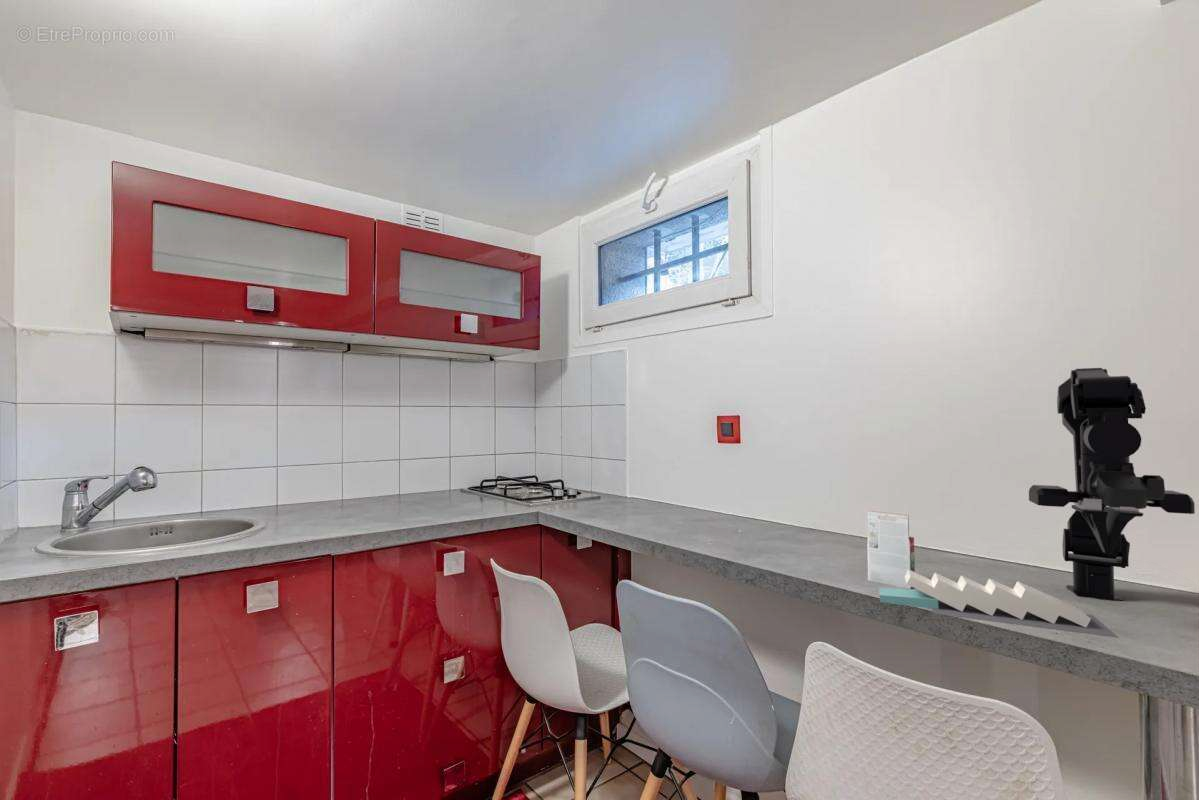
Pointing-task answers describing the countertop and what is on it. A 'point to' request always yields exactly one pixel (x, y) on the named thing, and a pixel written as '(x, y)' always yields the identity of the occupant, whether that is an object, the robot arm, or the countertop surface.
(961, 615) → the runner mat
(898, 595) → the domino
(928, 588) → the domino
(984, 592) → the domino
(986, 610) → the domino
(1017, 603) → the domino
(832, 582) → the countertop surface
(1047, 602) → the domino
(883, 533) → the ink box
